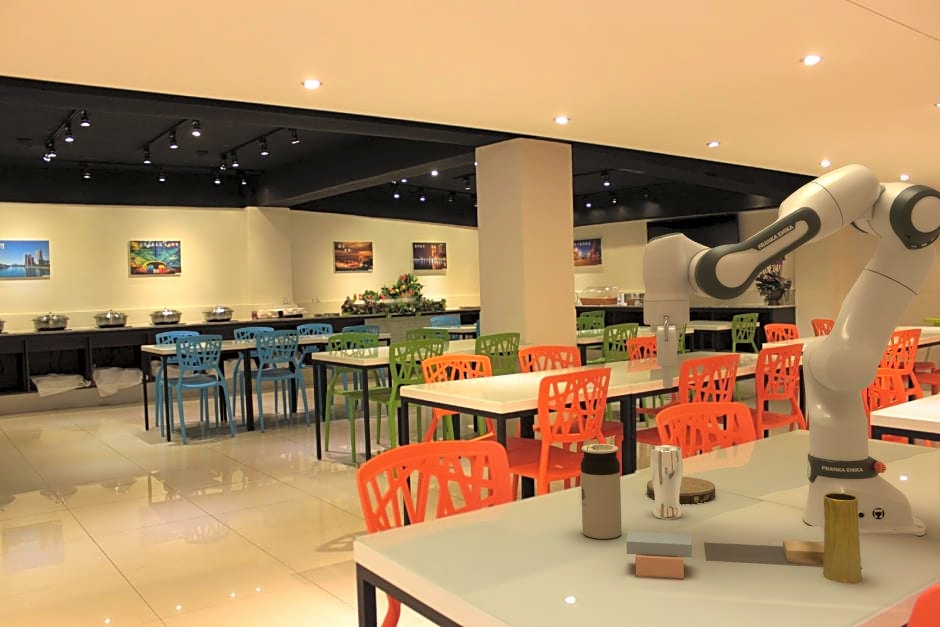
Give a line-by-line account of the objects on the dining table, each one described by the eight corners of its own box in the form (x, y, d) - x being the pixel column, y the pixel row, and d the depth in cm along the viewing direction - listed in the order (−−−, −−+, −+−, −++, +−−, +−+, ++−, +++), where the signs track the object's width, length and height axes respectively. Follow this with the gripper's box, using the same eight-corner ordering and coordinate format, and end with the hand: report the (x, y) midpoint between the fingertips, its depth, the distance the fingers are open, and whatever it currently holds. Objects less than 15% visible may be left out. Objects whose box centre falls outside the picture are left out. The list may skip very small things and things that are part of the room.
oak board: (847, 555, 139) (847, 543, 139) (854, 566, 134) (854, 553, 134) (783, 552, 142) (782, 540, 142) (787, 562, 137) (787, 550, 137)
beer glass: (685, 520, 165) (683, 451, 165) (651, 519, 166) (650, 451, 166) (682, 511, 172) (681, 445, 171) (650, 510, 173) (649, 444, 173)
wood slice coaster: (713, 489, 190) (713, 477, 190) (716, 507, 175) (716, 494, 175) (648, 487, 195) (648, 475, 194) (645, 504, 179) (645, 492, 179)
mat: (849, 553, 142) (849, 549, 142) (862, 572, 133) (862, 569, 133) (703, 545, 149) (703, 542, 149) (706, 563, 139) (705, 560, 139)
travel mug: (624, 529, 160) (621, 444, 160) (618, 541, 153) (616, 452, 152) (586, 526, 163) (584, 442, 162) (579, 538, 155) (576, 450, 155)
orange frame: (683, 566, 138) (682, 544, 138) (684, 582, 131) (683, 559, 131) (638, 563, 140) (637, 541, 140) (636, 579, 133) (635, 556, 133)
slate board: (691, 546, 137) (690, 534, 137) (691, 557, 131) (691, 544, 131) (628, 543, 140) (628, 531, 139) (626, 553, 134) (626, 541, 134)
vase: (815, 574, 133) (813, 492, 132) (849, 572, 133) (847, 490, 133) (835, 587, 126) (833, 502, 126) (870, 585, 127) (868, 500, 127)
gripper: (683, 317, 141) (685, 391, 142) (682, 313, 161) (683, 378, 161) (648, 317, 143) (650, 391, 143) (651, 313, 163) (653, 378, 163)
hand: (668, 384), depth 152 cm, fingers open, 8 cm apart
